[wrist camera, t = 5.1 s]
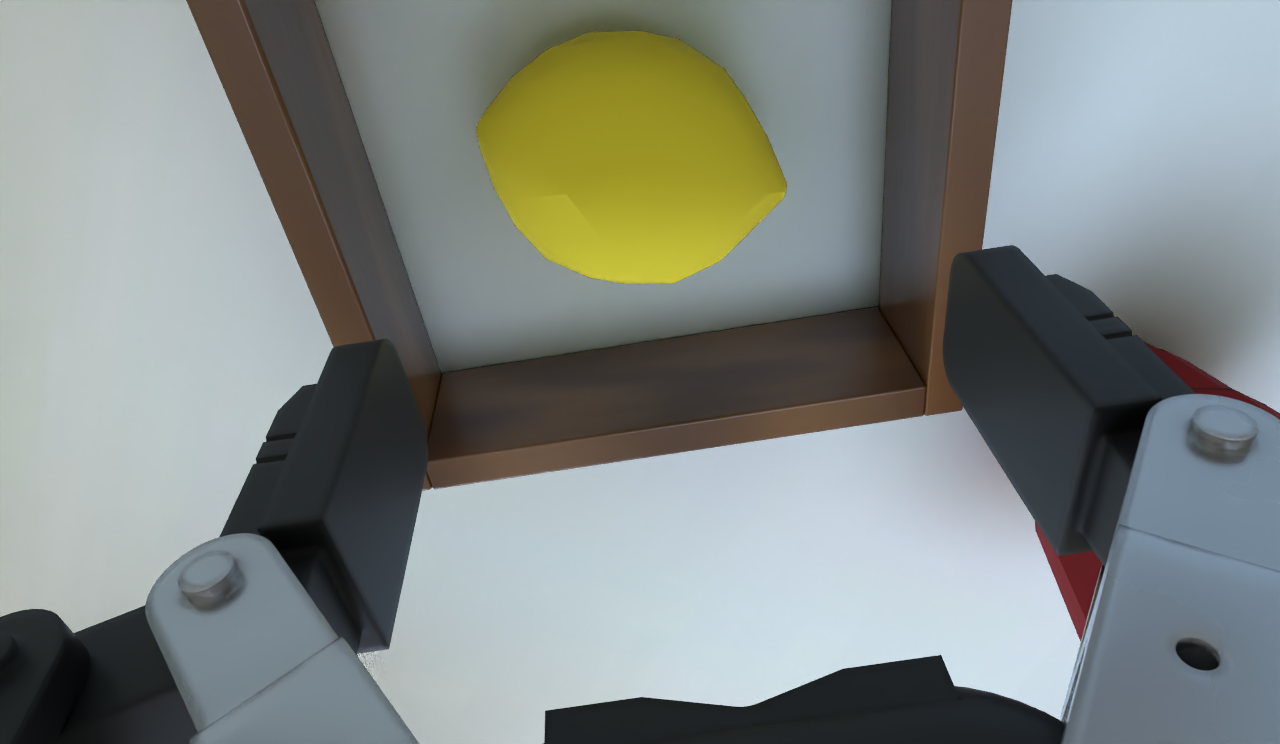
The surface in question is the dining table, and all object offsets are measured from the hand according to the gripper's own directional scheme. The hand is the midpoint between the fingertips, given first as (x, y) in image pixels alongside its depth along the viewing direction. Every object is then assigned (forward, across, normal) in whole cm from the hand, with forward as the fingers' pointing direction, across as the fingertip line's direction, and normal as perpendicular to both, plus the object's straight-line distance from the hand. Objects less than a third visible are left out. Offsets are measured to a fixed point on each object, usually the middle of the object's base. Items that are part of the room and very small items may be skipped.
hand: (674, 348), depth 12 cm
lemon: (+10, 0, 0) cm, 11 cm away
